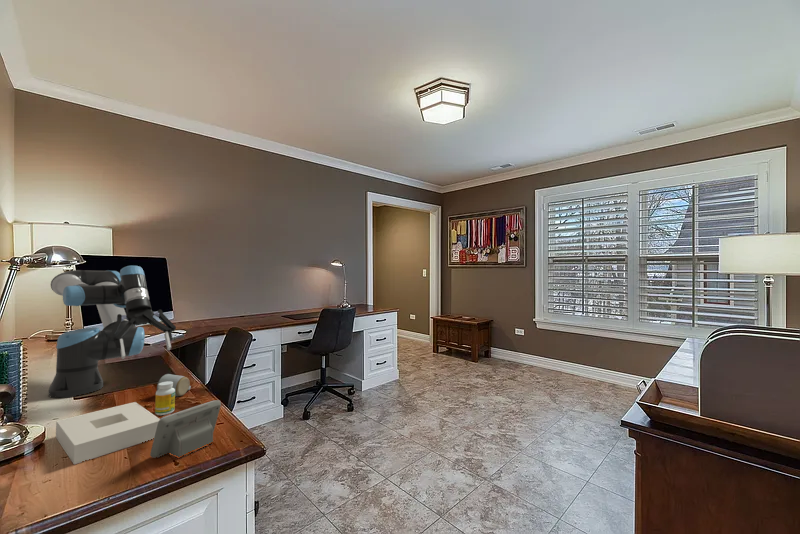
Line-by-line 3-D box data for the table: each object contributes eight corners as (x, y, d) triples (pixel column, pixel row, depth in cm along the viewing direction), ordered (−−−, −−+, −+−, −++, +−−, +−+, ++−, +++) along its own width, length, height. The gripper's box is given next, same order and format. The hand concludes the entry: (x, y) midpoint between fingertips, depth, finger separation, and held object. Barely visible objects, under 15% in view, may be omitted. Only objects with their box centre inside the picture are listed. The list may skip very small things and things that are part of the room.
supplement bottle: (156, 410, 114) (157, 381, 114) (175, 408, 116) (176, 379, 116) (153, 416, 109) (154, 386, 109) (173, 414, 111) (174, 384, 111)
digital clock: (213, 432, 99) (214, 395, 99) (226, 442, 93) (228, 403, 94) (145, 454, 87) (147, 411, 87) (156, 467, 81) (157, 422, 81)
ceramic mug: (176, 399, 124) (177, 378, 124) (155, 398, 124) (156, 377, 125) (196, 390, 134) (197, 370, 135) (177, 389, 135) (178, 369, 135)
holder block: (55, 437, 95) (56, 420, 95) (134, 416, 109) (135, 401, 109) (74, 464, 81) (74, 445, 82) (161, 436, 96) (161, 420, 96)
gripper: (95, 301, 120) (103, 356, 113) (177, 293, 138) (188, 341, 131) (93, 311, 124) (101, 365, 117) (173, 303, 143) (184, 349, 135)
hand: (147, 352), depth 124 cm, fingers open, 13 cm apart
